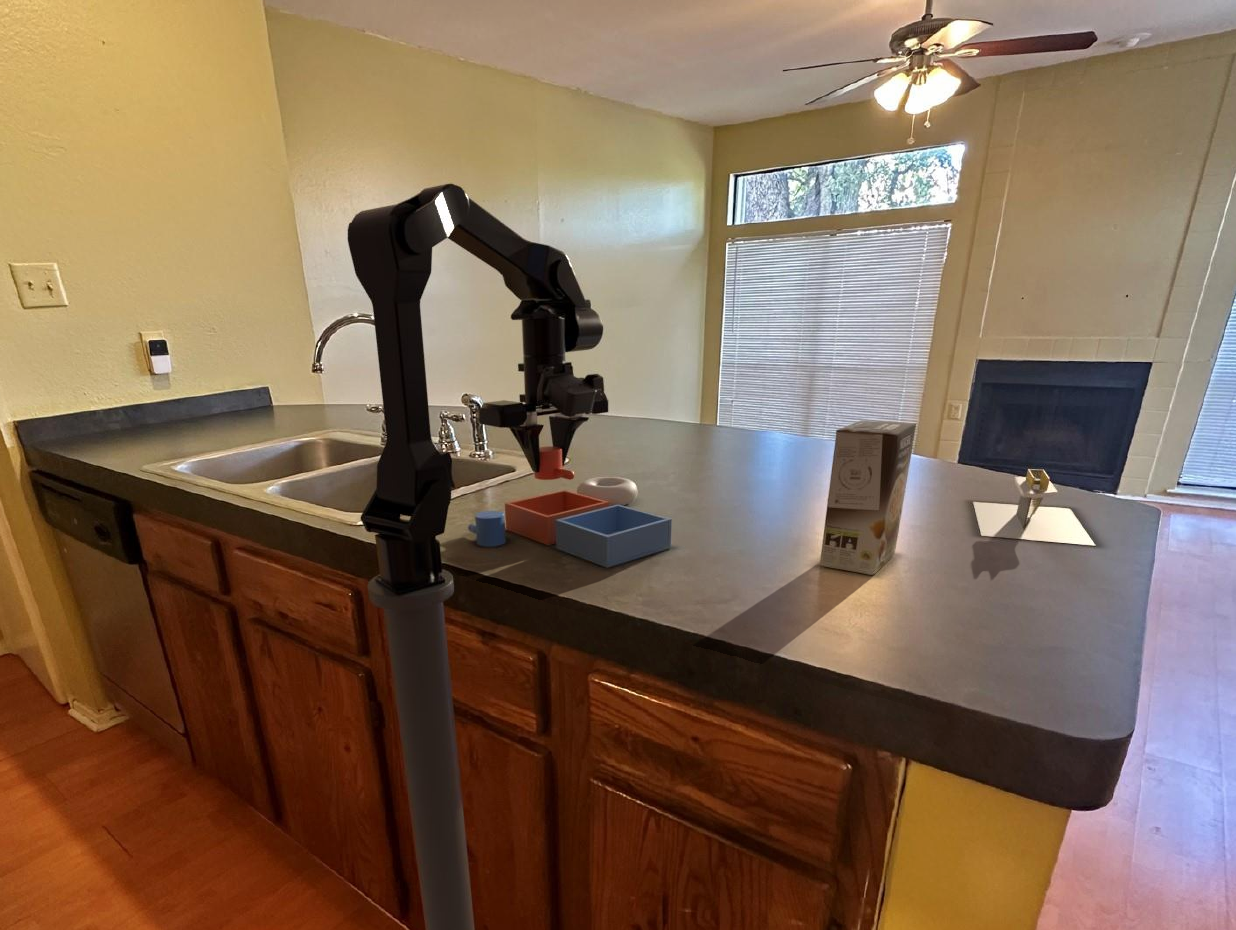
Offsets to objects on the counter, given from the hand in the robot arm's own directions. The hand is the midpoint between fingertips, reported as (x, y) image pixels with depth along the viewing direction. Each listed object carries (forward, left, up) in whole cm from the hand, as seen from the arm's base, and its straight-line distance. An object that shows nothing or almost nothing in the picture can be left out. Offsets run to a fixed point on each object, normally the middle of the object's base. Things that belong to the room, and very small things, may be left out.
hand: (547, 469), depth 99 cm
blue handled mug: (-10, +2, -9) cm, 14 cm away
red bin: (0, -2, -8) cm, 9 cm away
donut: (+16, +5, -9) cm, 18 cm away
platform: (+49, -44, -9) cm, 67 cm away
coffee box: (+19, -37, -9) cm, 42 cm away
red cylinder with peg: (0, -2, -1) cm, 2 cm away
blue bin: (0, -14, -8) cm, 16 cm away
